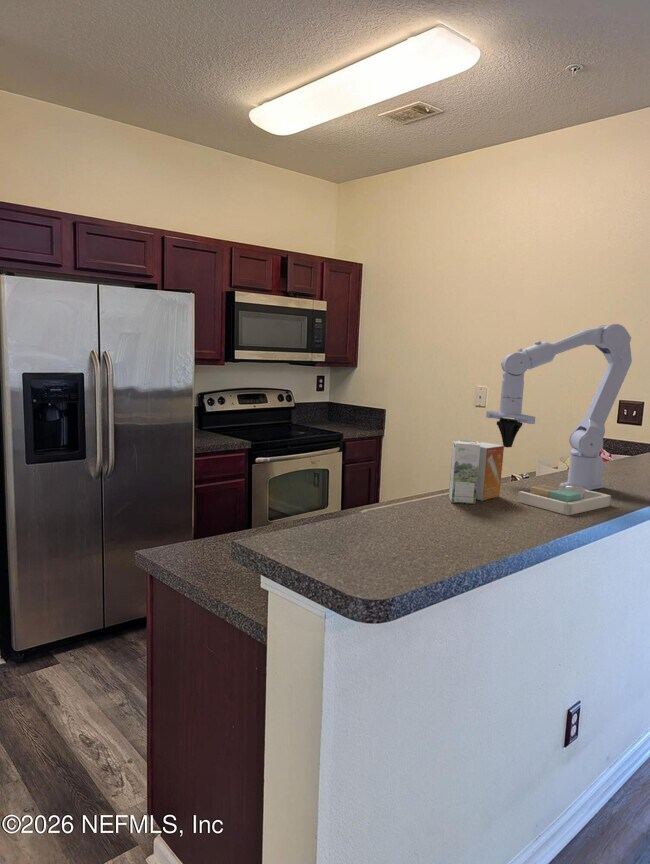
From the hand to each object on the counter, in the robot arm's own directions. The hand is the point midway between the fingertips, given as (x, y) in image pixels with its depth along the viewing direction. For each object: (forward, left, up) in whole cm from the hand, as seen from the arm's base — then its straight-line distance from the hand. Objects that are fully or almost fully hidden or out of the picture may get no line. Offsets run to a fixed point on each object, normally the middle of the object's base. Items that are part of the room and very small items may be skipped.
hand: (507, 446), depth 168 cm
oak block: (+11, +20, -10) cm, 25 cm away
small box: (+20, +8, -10) cm, 24 cm away
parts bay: (+7, +22, -10) cm, 26 cm away
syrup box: (+28, +9, -10) cm, 31 cm away
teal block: (+11, +25, -10) cm, 29 cm away
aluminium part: (+3, +22, -10) cm, 25 cm away
